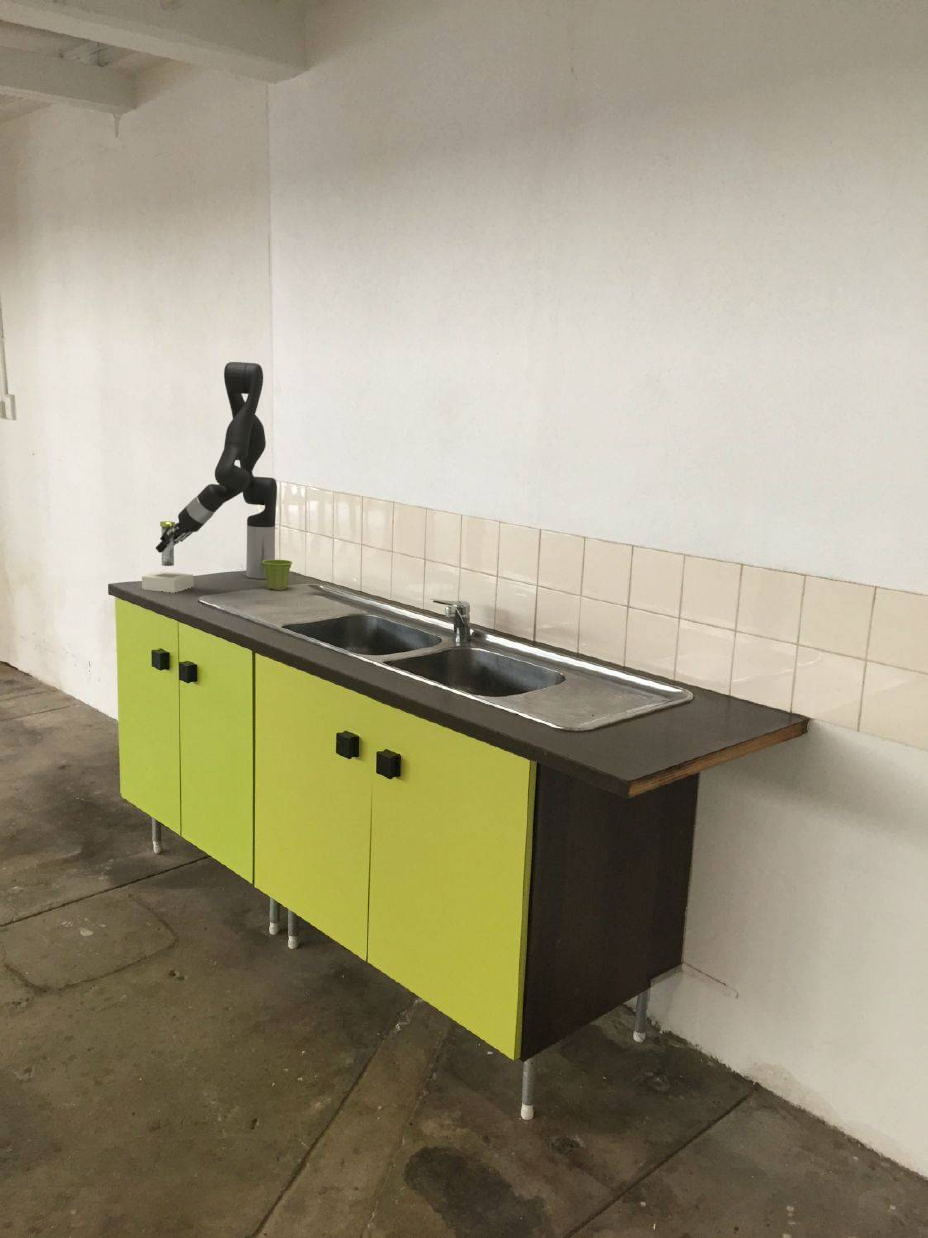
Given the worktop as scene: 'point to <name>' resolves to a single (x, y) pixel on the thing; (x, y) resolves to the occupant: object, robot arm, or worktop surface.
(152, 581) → the white square base
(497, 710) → the worktop surface
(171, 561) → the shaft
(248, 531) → the robot arm
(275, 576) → the plant pot
